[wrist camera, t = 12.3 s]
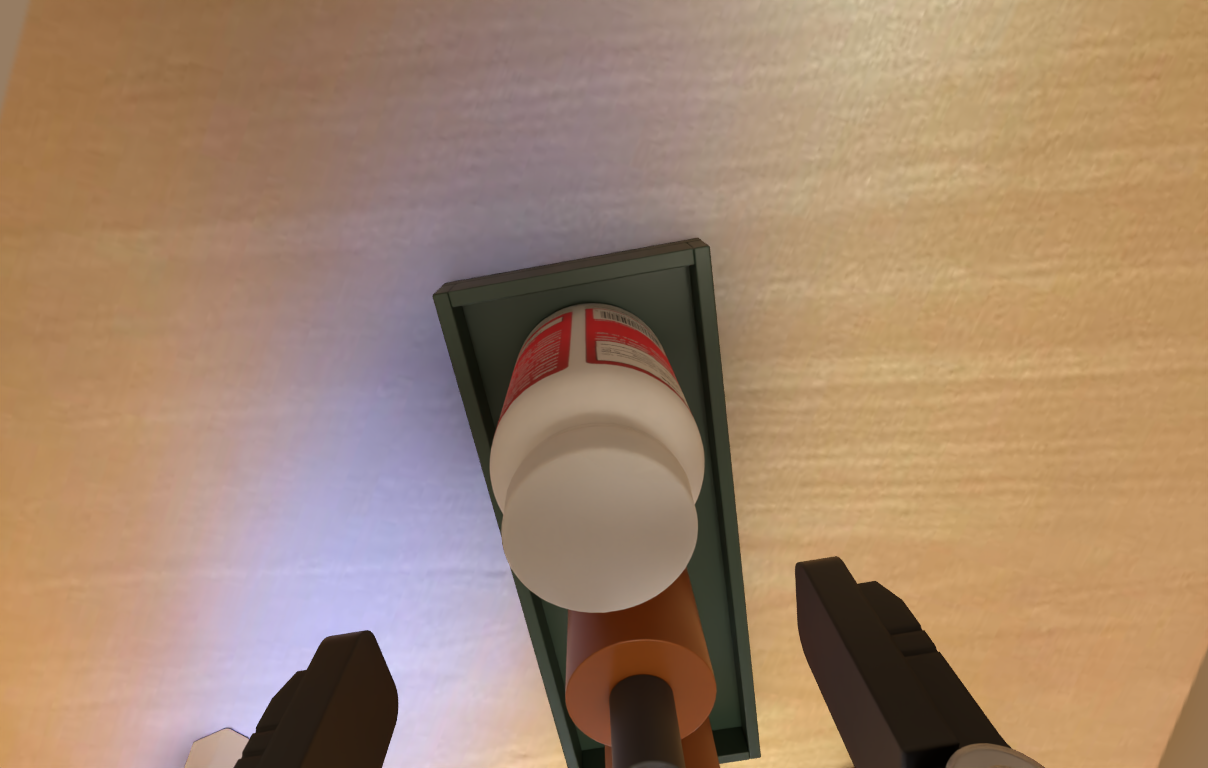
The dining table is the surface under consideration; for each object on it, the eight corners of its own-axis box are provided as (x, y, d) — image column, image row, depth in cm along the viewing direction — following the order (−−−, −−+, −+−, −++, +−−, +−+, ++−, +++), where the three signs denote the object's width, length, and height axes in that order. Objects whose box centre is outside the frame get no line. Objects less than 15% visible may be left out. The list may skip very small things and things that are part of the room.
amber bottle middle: (581, 600, 28) (579, 854, 18) (560, 512, 26) (545, 740, 16) (686, 583, 28) (745, 829, 18) (672, 493, 26) (731, 711, 16)
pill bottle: (531, 447, 25) (495, 652, 15) (503, 310, 23) (438, 439, 12) (673, 428, 25) (737, 621, 14) (660, 289, 22) (724, 401, 12)
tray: (573, 748, 33) (572, 786, 31) (444, 282, 23) (431, 294, 21) (750, 722, 32) (761, 758, 30) (699, 237, 22) (710, 245, 20)
